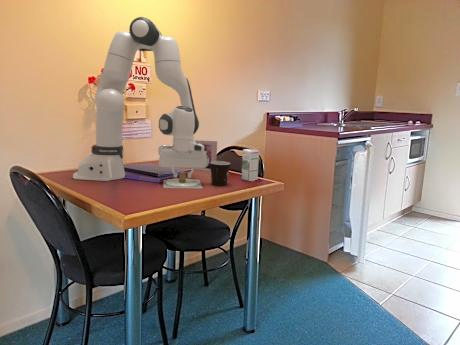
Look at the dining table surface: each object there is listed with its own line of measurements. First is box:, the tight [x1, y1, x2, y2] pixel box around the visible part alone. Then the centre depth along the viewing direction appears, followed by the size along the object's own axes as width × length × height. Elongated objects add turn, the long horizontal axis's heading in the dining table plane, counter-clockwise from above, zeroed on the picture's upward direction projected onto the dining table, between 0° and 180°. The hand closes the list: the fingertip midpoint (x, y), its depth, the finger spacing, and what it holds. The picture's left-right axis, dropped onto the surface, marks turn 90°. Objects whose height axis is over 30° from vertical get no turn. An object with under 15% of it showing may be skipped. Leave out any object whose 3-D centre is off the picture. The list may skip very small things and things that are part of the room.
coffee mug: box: [210, 160, 231, 187], centre depth 171 cm, size 12×9×10 cm
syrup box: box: [240, 148, 260, 182], centre depth 186 cm, size 6×6×14 cm
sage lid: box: [166, 171, 199, 189], centre depth 170 cm, size 14×14×5 cm
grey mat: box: [162, 178, 203, 190], centre depth 171 cm, size 16×16×1 cm
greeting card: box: [194, 139, 218, 173], centre depth 205 cm, size 11×7×15 cm, turn 61°
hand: (182, 177), depth 170 cm, fingers open, 5 cm apart
